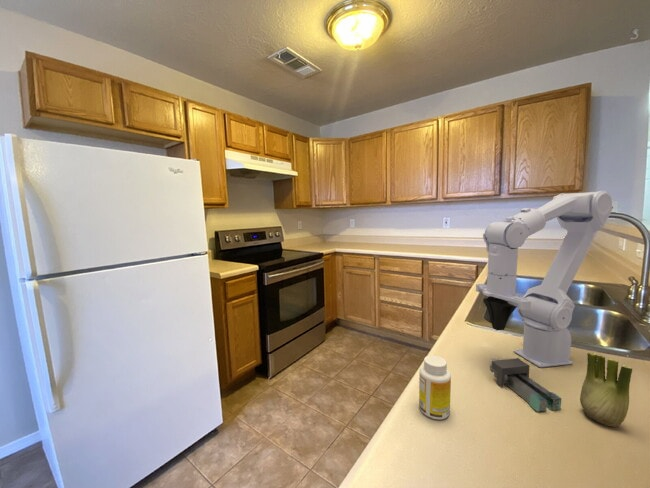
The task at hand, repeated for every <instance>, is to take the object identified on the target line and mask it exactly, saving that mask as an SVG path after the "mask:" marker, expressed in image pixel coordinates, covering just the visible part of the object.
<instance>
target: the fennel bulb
mask: <svg viewBox="0 0 650 488" xmlns="http://www.w3.org/2000/svg"><path fill="white" fill-rule="evenodd" d="M586 355H587V356H586V357H587V359H586V360H587V365H586V374H585V378H584V381H583V383H582V386H581V391H580V397H579V400H580V401H579V402H580V406H581V407H582V410H583V411H584V414H586V415H587V416H588V417H590V418H591V419H592V420H594V421H596V422H598V423H599V424H601V425H604V426H608V427H619V426H620V425H621V424H622V423H623V422H624V421H625V419H626V417H627V415H628V411H629V407H630V384H631V379H632V373H633V368H632V367H630V366H629V365H626V364H621V367H620V369H619V361H618V360H617V359H612V358H608V359H607V360H606V356H604V355H601V354H597V353H594V352H591V351H589V352H587V354H586ZM606 362H607V363H606ZM618 372H619V373H618Z"/></svg>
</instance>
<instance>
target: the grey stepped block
mask: <svg viewBox="0 0 650 488" xmlns="http://www.w3.org/2000/svg"><path fill="white" fill-rule="evenodd" d="M530 366H531V365H529V364H528V363H527V362H524V361H523V360H522V359H520V358H519V357H515V358H507V359H499V360H495V361H492V367H491V368H493V369H494V370H495V371H497V377H496V384H497V385H498V386H499V387H501V388H503V387H505V383H504V376H505V375H511V374H520V373H523V374H524V375H526V376H527V377H529V378H530V368H531V367H530Z"/></svg>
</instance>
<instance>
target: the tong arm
mask: <svg viewBox="0 0 650 488" xmlns="http://www.w3.org/2000/svg"><path fill="white" fill-rule="evenodd" d="M493 376H495V377H496V378H497V371H495V370H494V372H493ZM504 385H506V386H507V387H508V388H510V389H511V390H512V391H513V392H514V393H516V394H517V395H518V396H519V397H521V398H522V399H523V400H525V401H526V402H527V403H529V406H530V407H531V408H532V409H534V410H535V411H536V412H546V411H547V407H546V406H547V400H546V399H545V398H544V397H542V396H541V395H539V394H538V393H537V392H535V391H534V390H533V389H531V388H530V387H529V386H527V385H526V384H525V383H523V382H522V381H520V380H519V379H518V378H516V377H515V376H514V375H512V374H511V375H505V376H504Z"/></svg>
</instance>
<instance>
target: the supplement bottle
mask: <svg viewBox="0 0 650 488" xmlns="http://www.w3.org/2000/svg"><path fill="white" fill-rule="evenodd" d="M447 368H448V367H447V361H446V359H445V358H443V357H441V356H438V355H427V356H425V357H424V359H423V365H421V367H420V368H419V379H418V380H419V381H418V383H419V385H418V386H419V387H418V389H419V390H418V393H419V396H418V406H419V409H420V411H421V413H422V414H423V415H425V416H426V417H428V418H430V419H434V420H445V419H446V418H448V417H449V415H450V414H451V392H452V391H451V383H452V382H451V381H452V375H451V372H450V370H448V369H447Z"/></svg>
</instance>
